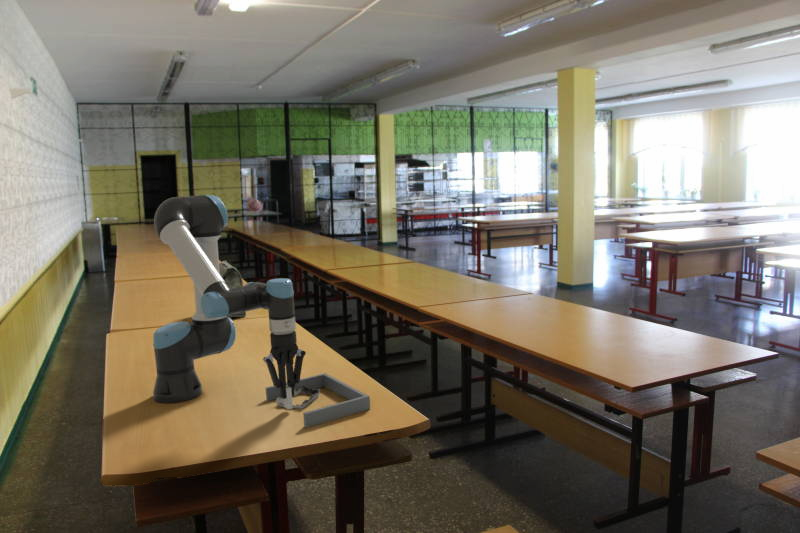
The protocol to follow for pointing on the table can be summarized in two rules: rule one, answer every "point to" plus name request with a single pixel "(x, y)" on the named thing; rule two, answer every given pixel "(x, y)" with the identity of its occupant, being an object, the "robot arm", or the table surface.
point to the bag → (231, 280)
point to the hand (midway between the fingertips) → (288, 407)
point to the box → (328, 413)
